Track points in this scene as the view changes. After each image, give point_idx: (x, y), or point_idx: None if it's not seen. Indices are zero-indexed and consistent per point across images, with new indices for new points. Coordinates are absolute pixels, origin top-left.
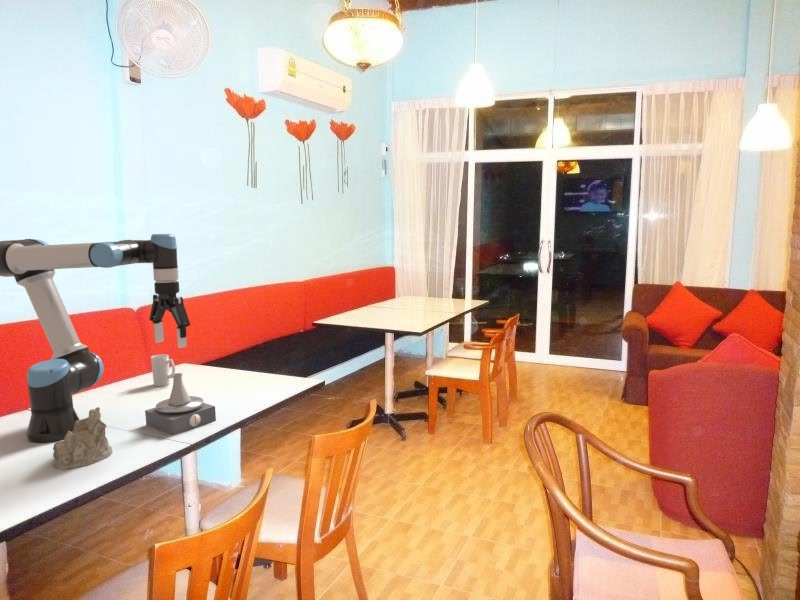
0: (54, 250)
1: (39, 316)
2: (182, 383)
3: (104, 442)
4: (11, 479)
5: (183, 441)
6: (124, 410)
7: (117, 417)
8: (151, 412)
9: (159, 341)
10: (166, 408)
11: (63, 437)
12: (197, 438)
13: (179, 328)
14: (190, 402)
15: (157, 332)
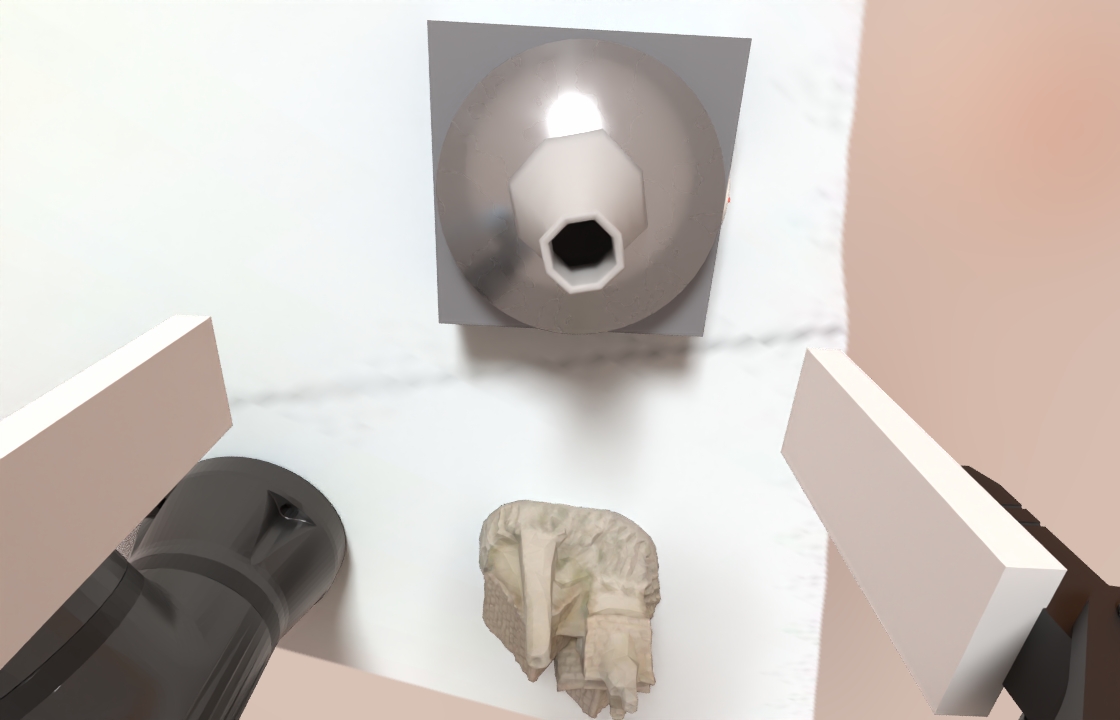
0: None
1: None
2: (610, 213)
3: (652, 587)
4: (556, 715)
5: (794, 329)
6: (131, 228)
7: (228, 308)
8: (500, 324)
9: (218, 391)
10: (598, 306)
11: (343, 546)
12: (829, 275)
13: (996, 687)
14: (631, 155)
15: (127, 499)
